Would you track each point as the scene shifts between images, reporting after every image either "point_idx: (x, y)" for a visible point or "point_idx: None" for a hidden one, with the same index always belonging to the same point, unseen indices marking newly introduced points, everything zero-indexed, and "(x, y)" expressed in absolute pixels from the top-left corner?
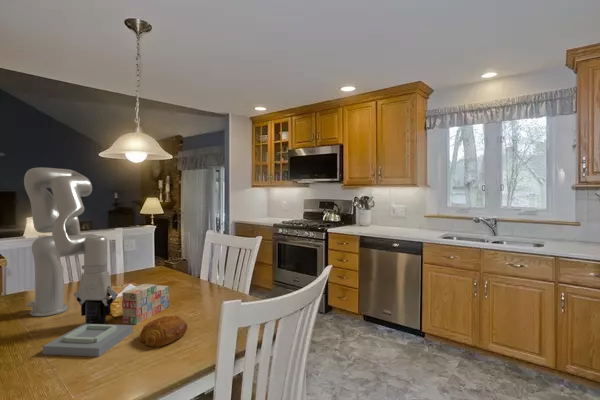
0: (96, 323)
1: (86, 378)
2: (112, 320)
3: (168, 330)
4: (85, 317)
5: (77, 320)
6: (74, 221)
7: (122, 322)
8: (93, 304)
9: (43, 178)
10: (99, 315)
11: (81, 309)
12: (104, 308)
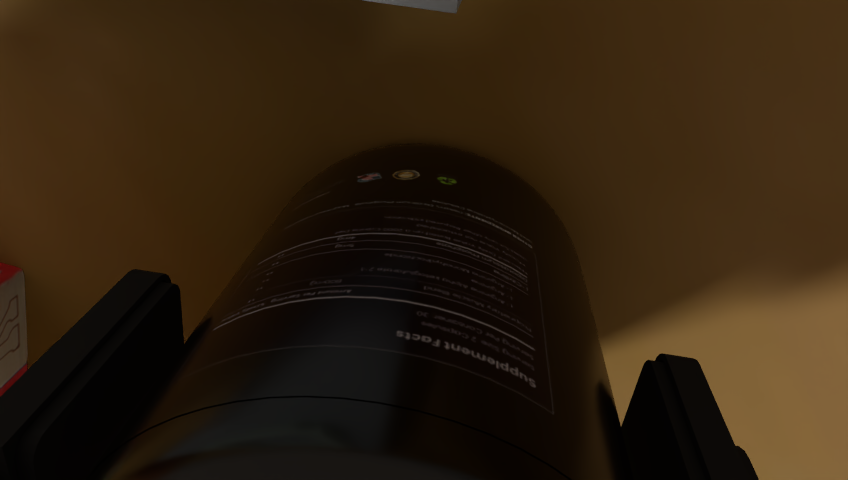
0: (322, 178)
1: None
2: None
3: None
4: (562, 274)
5: (804, 440)
6: None
7: (10, 275)
8: (207, 474)
9: None
10: (231, 280)
11: (744, 471)
12: (16, 392)
